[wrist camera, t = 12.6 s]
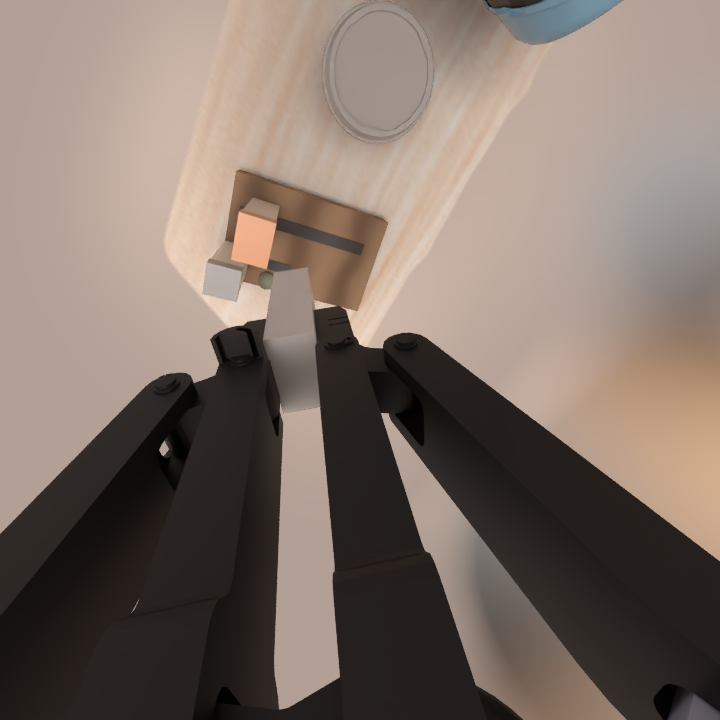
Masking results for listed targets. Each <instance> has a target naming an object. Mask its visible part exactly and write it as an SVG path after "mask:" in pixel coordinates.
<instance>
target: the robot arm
mask: <svg viewBox="0 0 720 720" xmlns="http://www.w3.org/2000/svg"><path fill="white" fill-rule="evenodd" d="M483 1H484V4H485V5H486V7H487V8H488V9H489V10H491V11H492V12H493V13H494V14H496V15H497V16H498V17H499V18H500V20H501V21H502V22H503V24H504V25H505V27H506V28H507V29H508V31H509V32H510V33H511V35H512V36H513V37H514V38H515V39H517V40H519V41H522V42H524V43H528V44H530V45H538V44H544V43H548V42H552V41H555V40H557V39H560V38H562V37H564V36H567V35H569V34H570V33H573V32H575V31H576V30H578V29H580V28H582V27H584V26H585V25H587V24H589V23H590V22H592V21H593V20H595V19H596V18H598V17H600V16H601V15H603V14H604V13H606V12H607V11H609V10H610V9H612V8H613V7H614V6H616V5H617V4H618V3H620V2H621V1H622V0H483ZM210 340H211V343H212V346H213V349H214V351H215V354H216V356H217V359H218V362H219V366H218V369H217V372H216V375H215V376H213V377H210V378H208V379H205V380H202V381H199V382H196V383H194V382H193V380H192V378H191V376H190V375H188V374H187V373H174V374H166V376H165V375H163V376H161V377H159V378H158V379H156V380H154V381H152V382H151V383H149V384H148V385H147V386H146V387H145V388H144V389H143V390H142V391H141V392H140V393H139V394H138V395H137V396H136V397H135V398H134V399H133V400H132V401H131V402H130V403H129V404H128V405H127V406H126V407H125V408H124V409H123V410H122V411H121V412H120V413H119V414H118V415H117V416H116V417H115V418H114V419H113V420H112V421H111V422H110V423H109V424H108V425H107V426H106V427H105V428H104V429H103V430H102V431H101V432H100V433H99V434H98V435H97V436H96V437H95V438H94V439H93V440H92V441H91V443H89V445H87V446H86V448H84V450H83V451H82V452H81V453H80V454H79V455H78V456H77V457H76V458H75V459H74V460H73V461H72V462H71V463H70V464H69V465H68V466H67V467H66V468H65V469H64V470H63V471H62V472H61V473H60V474H59V475H58V476H57V477H56V478H55V479H54V480H53V481H52V482H51V483H50V484H49V485H48V486H47V487H46V488H45V489H44V490H43V491H42V492H41V493H40V494H39V495H38V496H37V497H36V498H35V499H34V500H33V501H32V502H31V504H30V505H28V507H27V508H25V509H24V510H23V511H22V513H21V514H20V515H19V516H18V517H17V518H16V519H15V520H14V521H13V522H12V523H11V524H10V525H9V526H8V527H7V528H6V529H5V530H4V531H3V532H2V533H1V534H0V720H523V719H522V718H521V717H520V716H518V715H517V714H516V713H515V712H514V711H513V710H512V709H511V708H509V707H508V706H507V705H505V704H504V703H503V702H501V701H500V700H499V699H497V698H496V697H495V696H493V695H491V694H490V693H488V692H486V691H485V690H483V689H481V688H479V687H478V686H476V685H475V682H474V679H473V676H472V673H471V670H470V667H469V664H468V661H467V658H466V655H465V652H464V649H463V645H462V642H461V639H460V637H459V633H458V630H457V628H456V624H455V622H454V618H453V615H452V612H451V609H450V606H449V603H448V600H447V597H446V594H445V592H444V588H443V585H442V583H441V579H440V576H439V574H438V571H437V568H436V566H435V563H434V560H433V559H432V557H431V555H430V553H428V552H426V551H425V550H424V548H423V545H422V542H421V539H420V536H419V534H418V530H417V527H416V523H415V520H414V517H413V514H412V511H411V508H410V504H409V501H408V498H407V495H406V492H405V489H404V485H403V483H402V479H401V476H400V473H399V470H398V466H397V464H396V460H395V457H394V454H393V450H392V447H391V444H390V441H389V438H388V435H387V431H386V428H385V425H384V422H383V419H382V416H381V413H389V417H390V419H391V421H392V422H393V424H394V425H395V426H396V427H397V429H398V430H399V431H400V433H401V434H402V435H403V436H404V438H405V439H406V440H407V442H408V443H409V444H410V446H411V447H412V448H413V450H414V451H415V452H416V453H417V455H418V456H419V457H420V459H421V460H422V461H423V463H424V464H425V465H426V467H427V468H428V469H429V470H430V472H431V473H432V474H433V476H434V477H435V478H436V479H437V481H438V482H439V483H440V485H441V486H442V487H443V489H444V490H445V491H446V493H447V494H448V495H449V496H450V498H451V499H452V500H453V502H454V503H455V504H456V505H457V507H458V508H459V509H460V511H461V512H462V513H463V515H464V516H465V517H466V519H467V520H468V521H469V523H470V524H471V525H472V526H473V528H474V529H475V530H476V531H477V533H478V534H479V535H480V537H481V538H482V539H483V541H484V542H485V543H486V545H487V546H488V547H489V549H490V550H491V551H492V552H493V554H494V555H495V556H496V558H497V559H498V560H499V562H500V563H501V564H502V565H503V567H504V568H505V569H506V570H507V572H508V573H509V575H510V576H511V577H512V578H513V580H514V581H515V582H516V584H517V585H518V586H519V588H520V589H521V590H522V592H523V593H524V594H525V595H526V597H527V598H528V599H529V601H530V602H531V603H532V604H533V606H534V607H535V608H536V610H537V611H538V612H539V613H540V615H541V616H542V618H543V619H544V620H545V621H546V623H547V624H548V625H549V627H550V628H551V629H552V631H553V632H554V633H555V634H556V636H557V637H558V638H559V640H560V641H561V642H562V643H563V645H564V646H565V648H566V649H567V650H568V651H569V653H570V654H571V655H572V657H573V658H574V659H575V661H576V662H577V663H578V664H579V666H580V667H581V668H582V669H583V670H584V672H585V673H586V674H587V675H588V676H589V678H590V679H591V680H592V681H593V683H595V685H596V686H597V687H598V688H599V690H600V691H601V692H602V693H603V694H604V696H605V697H606V698H607V699H608V700H609V702H610V703H611V704H612V705H613V706H614V707H615V708H616V709H617V710H618V711H619V712H620V713H621V714H622V715H623V716H624V717H625V718H626V719H627V720H720V561H719V560H717V559H716V558H715V557H713V556H712V555H711V554H709V553H708V552H707V551H705V550H704V549H703V548H701V547H700V546H699V545H698V544H696V543H695V542H693V541H692V540H691V539H690V538H688V537H687V536H686V535H684V534H683V533H682V532H680V531H679V530H678V529H677V528H675V527H674V526H673V525H671V524H670V523H669V522H667V521H666V520H665V519H663V518H662V517H660V516H659V515H658V514H657V513H655V512H654V511H653V510H652V509H650V508H649V507H648V506H646V505H645V504H644V503H642V502H641V501H640V500H638V499H637V498H636V497H634V496H633V495H632V494H630V493H629V492H628V491H627V490H625V489H624V488H623V487H621V486H620V485H619V484H617V483H616V482H615V481H613V480H612V479H611V478H609V477H608V476H607V475H605V474H604V473H603V472H602V471H600V470H599V469H598V468H596V467H595V466H594V465H592V464H591V463H590V462H588V461H587V460H586V459H584V458H583V457H582V456H581V455H579V454H578V453H577V452H575V451H574V450H573V449H571V448H570V447H569V446H567V445H566V444H565V443H563V442H562V441H561V440H560V439H558V438H557V437H556V436H554V435H553V434H552V433H550V432H549V431H548V430H546V429H545V428H544V427H542V426H541V425H540V424H538V423H537V422H536V421H535V420H533V419H532V418H530V417H529V416H528V415H527V414H525V413H524V412H523V411H521V410H520V409H519V408H517V407H516V406H515V405H514V404H512V403H511V402H510V401H508V400H507V399H506V398H504V397H503V396H502V395H500V394H499V393H498V392H496V391H495V390H494V389H492V388H491V387H490V386H488V385H487V384H486V383H485V382H483V381H482V380H481V379H479V378H478V377H477V376H475V375H474V374H473V373H471V372H470V371H469V370H468V369H466V368H465V367H464V366H462V365H461V364H460V363H458V362H457V361H456V360H454V359H453V358H452V357H450V356H449V355H448V354H446V353H445V352H444V351H442V350H441V349H440V348H439V347H437V346H436V345H435V344H433V343H432V342H431V341H429V340H428V339H427V338H425V337H423V336H421V335H418V334H413V333H401V334H397V335H394V336H391V337H389V338H388V339H387V340H386V341H384V344H383V348H382V349H381V348H380V349H379V348H368V347H364V346H361V345H359V342H358V340H357V339H356V337H354V335H353V332H352V329H351V325H350V322H349V319H348V315H347V312H346V310H345V309H343V308H341V307H340V306H336V307H330V308H324V309H318V310H316V309H315V304H314V299H313V293H312V288H311V282H310V277H309V272H308V267H307V268H300V269H294V270H287V271H281V272H274V275H273V282H272V288H271V294H270V300H269V306H268V312H267V318H266V319H262V320H256V321H249V322H247V323H246V324H245V325H244V326H235V327H231V328H227V329H225V330H222V331H220V332H218V333H217V334H215V335H214V336H213V337H212V338H211V339H210ZM280 404H281V407H282V411H283V414H284V413H289V412H294V411H300V410H306V409H311V408H317V407H321V408H320V409H321V420H322V431H323V442H324V453H325V464H326V474H327V485H328V496H329V506H330V518H331V529H332V540H333V551H334V562H335V571H334V573H333V595H334V607H335V621H336V633H337V645H338V657H339V668H340V678H338V679H337V680H335V681H333V682H332V683H330V684H328V685H326V686H325V687H323V688H321V689H320V690H318V691H316V692H315V693H313V694H311V695H309V696H308V697H306V698H304V699H303V700H301V701H299V702H298V703H296V704H294V705H293V706H291V707H289V708H286V709H281V710H279V705H278V694H277V687H276V681H275V676H274V646H275V645H274V644H275V619H276V592H277V568H278V567H277V566H278V542H279V516H280V515H279V514H280V489H281V463H282V438H283V421H282V418H281V414H280ZM164 440H165V442H166V444H167V446H168V448H169V450H168V452H167V453H166V454H165V455H164V456H162V455H161V453H160V451H159V449H160V447H161V445H162V443H163V442H164ZM138 600H139V601H138ZM137 601H138V604H137V606H136V608H135V610H134V611H133V609H134V607H135V605H136V603H137ZM132 611H133V612H132ZM131 612H132V613H131Z"/></svg>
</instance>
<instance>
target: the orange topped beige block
mask: <svg viewBox="0 0 720 720" xmlns="http://www.w3.org/2000/svg"><path fill="white" fill-rule="evenodd" d="M279 207H280V206H279V205H276V204H273V203H270V202H266V201H263V200H260V199H257V198H254V197H253V198H252V199H251V200H250V201H249V203H248V204H247V205H246V206H245V208H244V209H241V210H240V211H239V214H238V220H237V226H236V232H235V238H234V244H233V250H232V255H231V260H235V261H238V262H242V263H246V264H249V265H253V266H257V267H260V268H264V269H267V266H268V261H269V257H270V252H271V247H272V243H273V238H274V234H275V229H276V224H277V217H278V212H279Z"/></svg>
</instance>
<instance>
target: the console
mask: <svg viewBox="0 0 720 720" xmlns="http://www.w3.org/2000/svg"><path fill="white" fill-rule="evenodd" d="M253 197H254V198H257V199H260V200H263V201H266V202H270V203H273V204H276V205H279V206H280V207H279V212H278V217H277V224H276V229H275V234H274V238H273V243H272V247H271V252H270V257H269V261H268V266H267V269H264V268H260V267H257V266H253V265H249V264H248V267H247V272H246V275H245V277H244V280H243V282H247V283H251V284H255V285H259V286H260V287H261V288H263V289H271V288H272V282H273V275H274V272H281V271H287V270H294V269H300V268H307V267H308V272H309V277H310V282H311V288H312V293H313V299H314V300H317V301H320V302H324V303H328V304H332V305H336V306H340V307H344V308H347V309H351V310H355V311H358V308H359V305H360V302H361V299H362V296H363V293H364V291H365V288H366V285H367V282H368V279H369V276H370V273H371V271H372V268H373V265H374V262H375V259H376V256H377V253H378V251H379V248H380V245H381V242H382V239H383V236H384V233H385V231H386V228H387V225H388V222H386V221H385V220H384V219H381V218H378V217H376V216H373V215H370V214H367V213H364V212H361V211H358V210H355V209H352V208H349V207H346V206H343V205H341V204H338V203H335V202H332V201H329V200H326V199H323V198H320V197H317V196H314V195H311V194H309V193H306V192H303V191H300V190H297V189H294V188H291V187H288V186H285V185H282V184H279V183H276V182H274V181H271V180H268V179H265V178H262V177H259V176H256V175H253V174H250V173H247V172H244V171H242V170H238V171H236V176H235V182H234V189H233V195H232V201H231V208H230V214H229V220H228V227H227V233H226V239H225V241H229V242H232V243H234V238H235V232H236V226H237V220H238V214H239V211H240V210H241V209H244V208H245V206H246V205H247V204H248V203H249V201H250V200H251V199H252V198H253Z"/></svg>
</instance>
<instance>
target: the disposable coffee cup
mask: <svg viewBox="0 0 720 720" xmlns="http://www.w3.org/2000/svg"><path fill="white" fill-rule="evenodd" d="M433 77H434V66H433V56H432V51H431V47H430V44H429V41H428V38H427V36H426V34H425V32H424V30H423V28H422V27H421V25H420V24H419V22H418V21H417V19H416V18H415V17H414V16H413V15H412V14H411V13H410V12H408V11H407V10H406V9H405V8H403V7H401V6H399V5H398V4H395V3H392V2H389V1H384V0H373V1H368V2H363V3H361V4H359V5H357V6H355V7H353V8H352V9H351V10H349V11H348V12H347V13H345V15H344V16H343V17H342V18H341V19H340V20H339V21H338V22H337V24H336V26H335V27H334V29H333V31H332V32H331V34H330V36H329V39H328V42H327V45H326V48H325V51H324V57H323V64H322V82H323V89H324V93H325V97H326V100H327V103H328V105H329V108H330V110H331V112H332V113H333V115H334V117H335V118H336V120H337V122H338V123H339V124H340V125H341V126H342V127H343V128H344V129H345V130H346V131H347V132H348V133H349V134H350V135H352V136H354V137H355V138H358V139H360V140H362V141H365V142H369V143H387V142H390V141H393V140H395V139H398V138H400V137H402V136H403V135H404V134H406V133H407V132H408V131H409V130H411V129H412V128H413V126H414V125H415V124H416V123H417V122H418V121H419V119H420V118H421V116H422V114H423V112H424V111H425V109H426V107H427V104H428V101H429V99H430V96H431V91H432V87H433Z"/></svg>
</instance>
